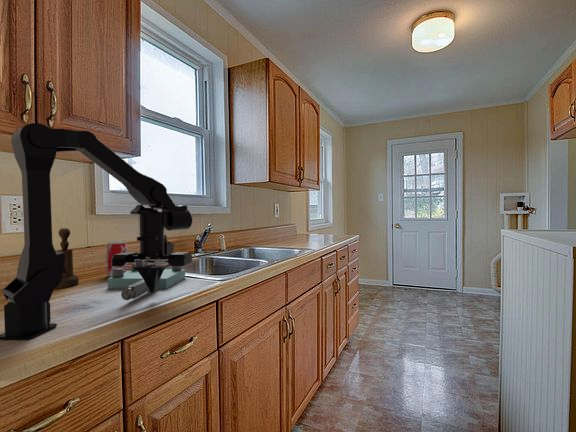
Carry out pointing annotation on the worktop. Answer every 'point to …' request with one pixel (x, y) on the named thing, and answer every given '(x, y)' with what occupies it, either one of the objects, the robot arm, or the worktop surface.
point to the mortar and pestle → (67, 261)
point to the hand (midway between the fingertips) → (153, 292)
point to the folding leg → (135, 290)
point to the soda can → (111, 251)
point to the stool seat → (133, 276)
